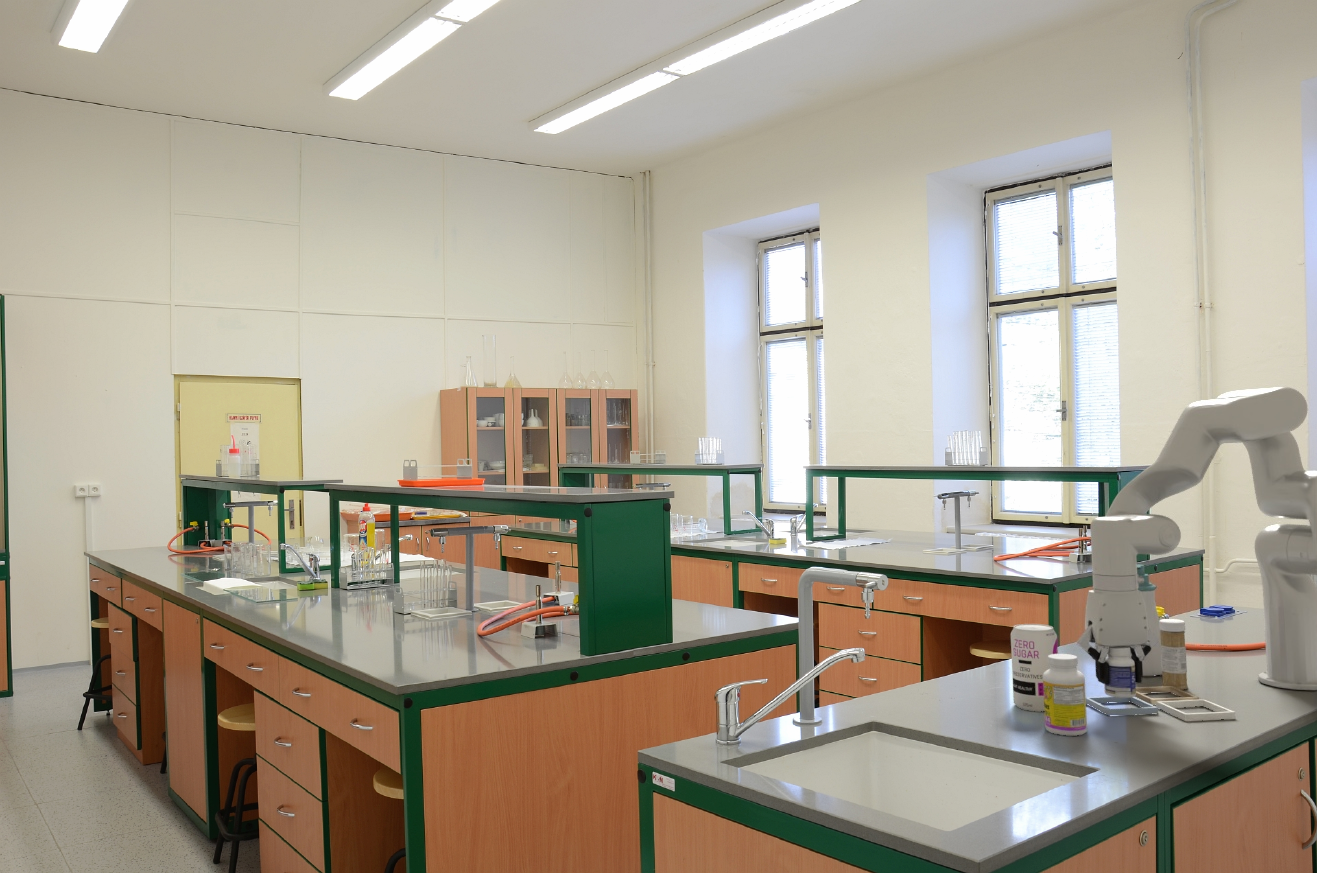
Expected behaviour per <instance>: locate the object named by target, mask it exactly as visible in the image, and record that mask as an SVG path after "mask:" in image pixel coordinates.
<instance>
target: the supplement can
mask: <svg viewBox="0 0 1317 873" xmlns="http://www.w3.org/2000/svg"><path fill="white" fill-rule="evenodd" d="M1058 644H1059V643H1058V635H1057V633H1056V631H1055V630H1054V627H1053V626H1052V625H1047V624H1043V623H1042V624H1041V623H1023V624H1022V623H1020V624H1019V623H1018V624H1016V625H1013V628H1012V630H1011V632H1010V646H1011V649H1010V650H1011V669H1012V672H1011V674H1012V692H1013V693H1012V694H1013V695H1012V696H1013V704H1014V705H1016V707H1017V708H1018V707H1019V708H1018V709H1020V708H1021V710H1024V711H1027V710H1029V711H1028V712H1034V711H1035V712H1037V713H1044V712H1043V711H1045V710H1044V688H1043V674H1044V672H1045V671H1047V670H1048V669H1050V665H1049V663H1048V656H1049V655H1051V654H1059V652H1058V651H1059V648H1058V647H1059V645H1058ZM1041 711H1042V712H1041ZM1035 712H1034V713H1035Z"/></svg>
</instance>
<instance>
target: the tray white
mask: <svg viewBox="0 0 1317 873" xmlns="http://www.w3.org/2000/svg"><path fill="white" fill-rule="evenodd" d="M1156 704H1157V706H1156V707H1158V708H1160V709H1162V710H1164V711H1166V712H1167V713H1166V712H1165V713H1166V714H1169V713H1170V714H1169V715H1171V716H1173V717H1176V718H1177V717H1178V718H1177V719H1180V720H1182V721H1184V722H1197V721H1198V722H1200V721H1202V720H1203V721H1218V720H1219V721H1220V720H1221V719H1224V720H1236V711H1234V710H1231V709H1229V708H1227V707H1223V706H1222V705H1219V704H1217V703H1214V702H1212V701H1209V700H1206V699H1200V698H1199V700H1179V701H1157V702H1156ZM1195 706H1204V707H1203V708H1205V707H1206V709H1208V708H1209V709H1208V710H1210V711H1212V710H1213V711H1212V712H1193V713H1186V712H1184V711H1182V710H1179V709H1180V708H1181V709H1182V708H1184V707H1186V708H1196V707H1195ZM1160 709H1159V710H1160ZM1162 710H1161V711H1162ZM1164 711H1163V712H1164ZM1221 721H1222V720H1221Z"/></svg>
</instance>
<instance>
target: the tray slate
mask: <svg viewBox="0 0 1317 873" xmlns="http://www.w3.org/2000/svg"><path fill="white" fill-rule="evenodd" d="M1129 701H1130V702H1133V703H1134V704H1137V705H1139V706H1141V707H1143V708H1141V707H1139V706H1138V707H1130V708H1129V707H1127V708H1124V707H1123V708H1109V707H1108V706H1105V705H1104V704H1099V703H1107V702H1108V703H1109V702H1129ZM1086 704H1089V705H1090V706H1093V707H1094V708H1096V709H1098V710H1100V711H1101V712H1103V713H1106V714H1107V715H1109V716H1110V715H1134V716H1140V715H1139V714H1152V713H1158V714H1159V709H1158V707H1157V706H1153V705H1151V704H1149V703H1147V702H1145V701H1142V700H1140V699H1138V698H1136V697H1131V698H1118V697H1112V696H1108V695H1107V696H1093V697H1086ZM1134 704H1133V705H1134ZM1137 705H1136V706H1137ZM1090 706H1089V707H1090ZM1094 708H1093V709H1094ZM1096 709H1095V710H1096ZM1098 710H1097V711H1098ZM1100 711H1099V712H1100ZM1101 712H1100V713H1101ZM1103 713H1102V714H1103ZM1135 714H1137V715H1135ZM1107 715H1106V716H1107ZM1109 716H1108V717H1109Z"/></svg>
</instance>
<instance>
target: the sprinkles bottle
mask: <svg viewBox="0 0 1317 873" xmlns="http://www.w3.org/2000/svg"><path fill="white" fill-rule="evenodd" d="M1159 620H1160V621H1159V629H1160V632H1161V662H1162V674H1163V675H1162V685H1161V686H1172V687H1175V688H1177V689H1180V690H1182V691H1185V690H1187V689H1188V688H1189V686H1188V685H1189V684H1188V678H1187V673H1188V670H1187V669H1188V668H1187V667H1188V665H1187V648H1186V647H1187V646H1186V638H1185V633H1186V623H1185V621H1184V620H1182V619H1176V618H1163V619H1159ZM1184 689H1185V690H1184Z"/></svg>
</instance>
